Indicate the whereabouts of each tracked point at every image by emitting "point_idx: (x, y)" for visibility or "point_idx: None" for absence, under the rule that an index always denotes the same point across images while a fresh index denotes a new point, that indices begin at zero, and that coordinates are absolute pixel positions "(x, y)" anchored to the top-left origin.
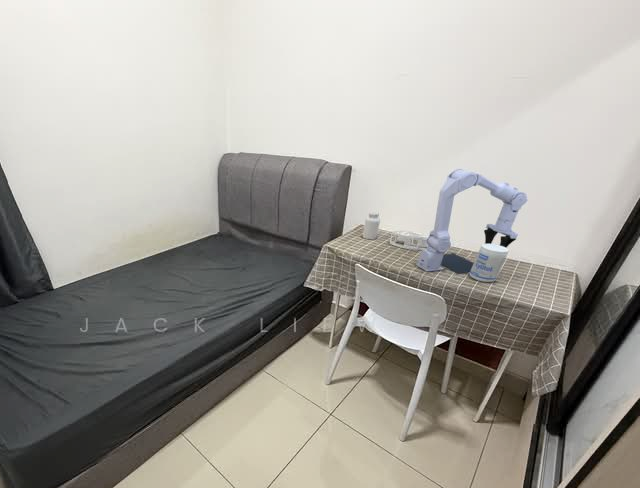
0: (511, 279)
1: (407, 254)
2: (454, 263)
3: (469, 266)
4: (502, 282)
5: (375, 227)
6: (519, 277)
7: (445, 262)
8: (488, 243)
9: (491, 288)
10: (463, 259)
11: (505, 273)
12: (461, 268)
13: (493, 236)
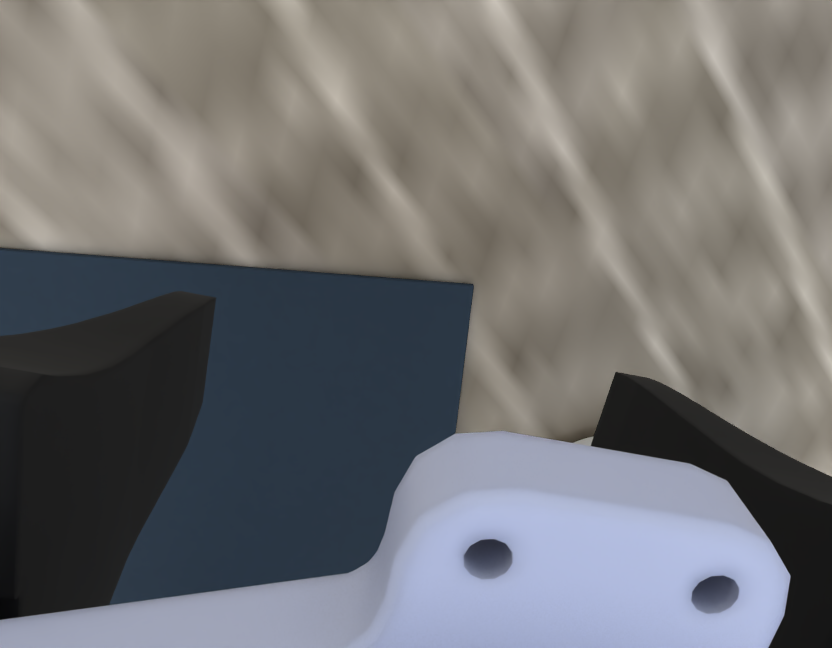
0: (802, 235)
1: None
2: (168, 520)
3: (303, 419)
4: (794, 421)
5: None
6: (824, 52)
7: (114, 595)
8: (195, 380)
9: None
10: (52, 291)
11: (646, 123)
12: (328, 557)
13: (124, 412)
